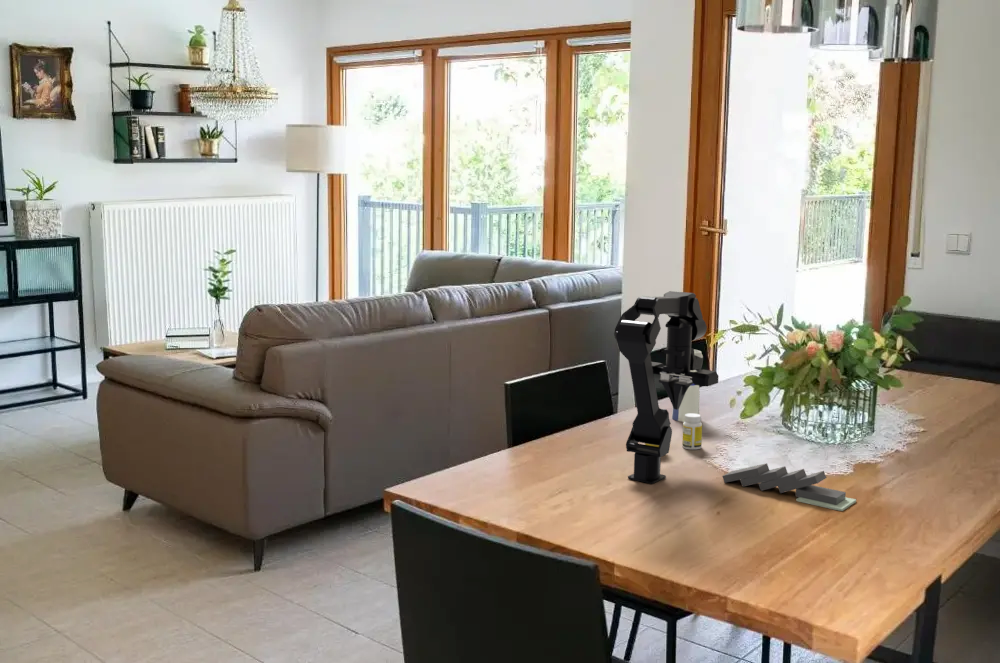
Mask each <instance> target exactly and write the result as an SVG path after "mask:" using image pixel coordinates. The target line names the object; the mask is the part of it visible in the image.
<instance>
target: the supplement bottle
mask: <svg viewBox="0 0 1000 663" xmlns="http://www.w3.org/2000/svg"><path fill="white" fill-rule="evenodd" d="M701 421H702V415H701V414H700V413H699V414H695V413H688V414H685V422H682V448H683V449H686V450H691V451H692V450H694V451H695V450H699V449H701V448H702V442H703V441H702V440H703V438H702V437H703V423H702V422H701Z"/></svg>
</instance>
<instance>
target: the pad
mask: <svg viewBox="0 0 1000 663" xmlns="http://www.w3.org/2000/svg"><path fill="white" fill-rule="evenodd" d="M796 502H799V503H803V504H809V505H812V506H817V507H821V508H826V509H830V510H834V511H839V512H843V511H844V510H846V509H848V508H849V507H850V506H852V505H853V504H854V505H855V503H856V502H857V499H856V498H853V497H852V498H851V497H847V496H845V500H844V501H842V502H841V503H839V504H837V505H833V504H828V503H824V502H819V501H815V500H810V499H806V498H801V497H796Z"/></svg>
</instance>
